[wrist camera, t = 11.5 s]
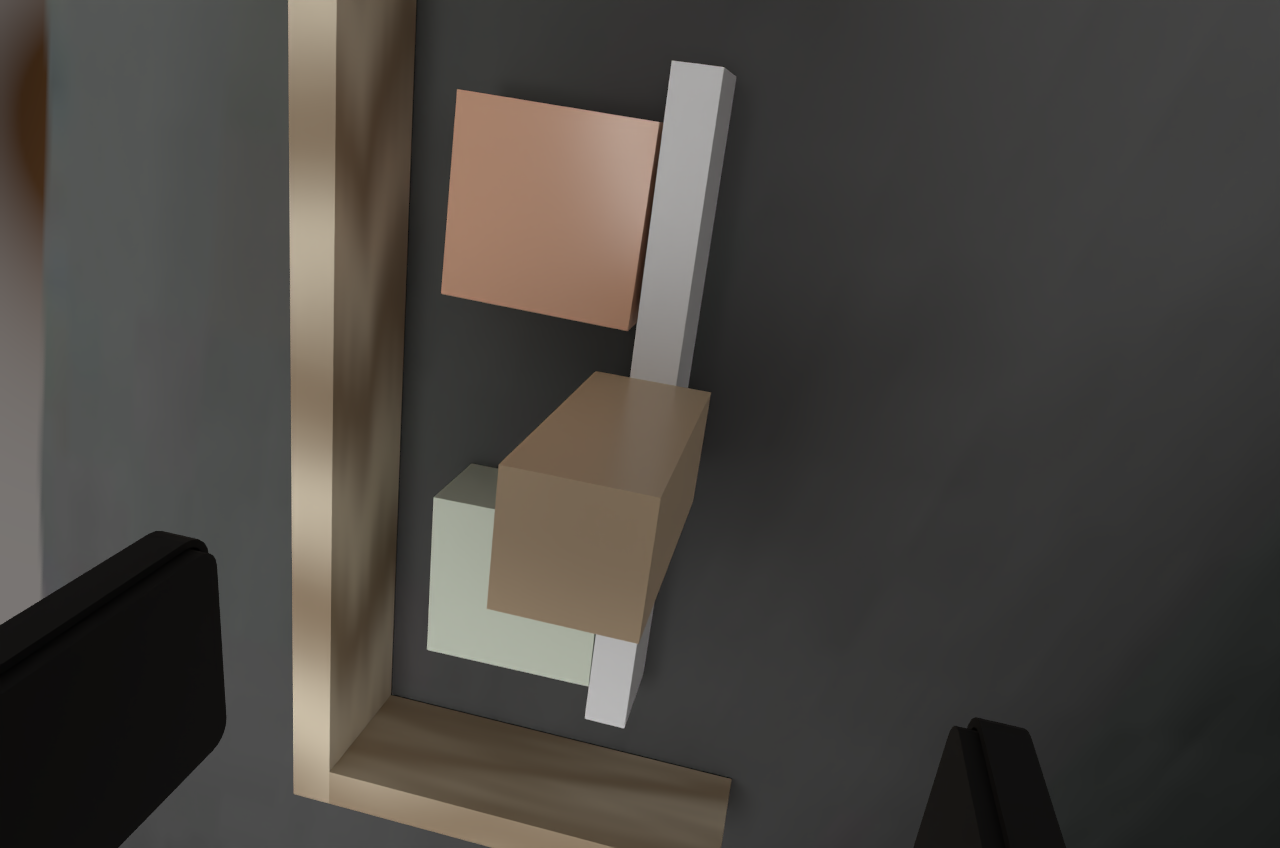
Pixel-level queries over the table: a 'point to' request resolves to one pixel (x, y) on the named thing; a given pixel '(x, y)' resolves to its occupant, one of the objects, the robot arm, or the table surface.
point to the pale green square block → (464, 591)
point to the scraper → (623, 432)
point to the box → (368, 498)
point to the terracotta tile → (549, 208)
